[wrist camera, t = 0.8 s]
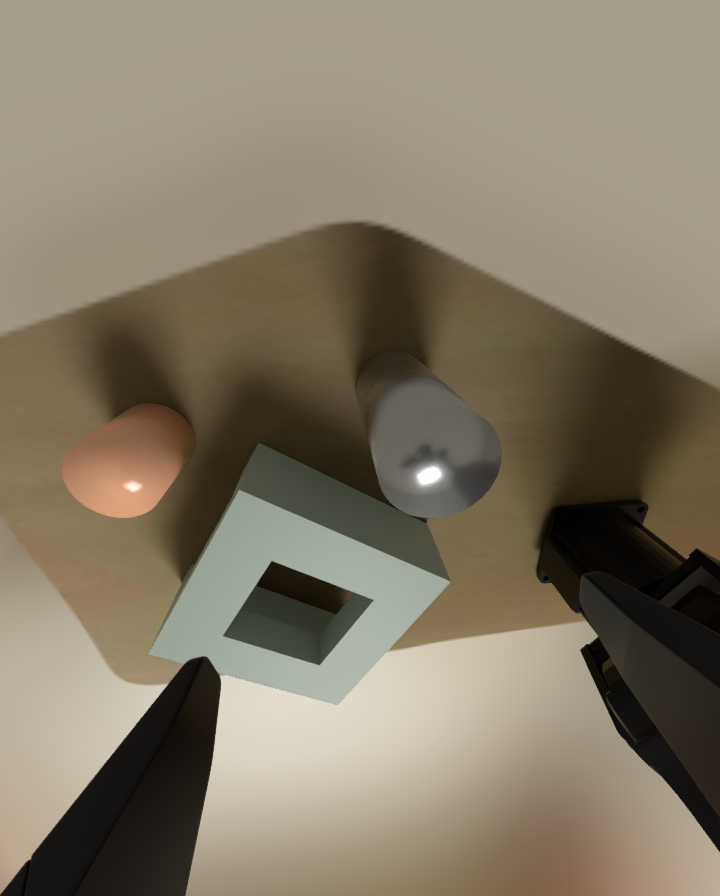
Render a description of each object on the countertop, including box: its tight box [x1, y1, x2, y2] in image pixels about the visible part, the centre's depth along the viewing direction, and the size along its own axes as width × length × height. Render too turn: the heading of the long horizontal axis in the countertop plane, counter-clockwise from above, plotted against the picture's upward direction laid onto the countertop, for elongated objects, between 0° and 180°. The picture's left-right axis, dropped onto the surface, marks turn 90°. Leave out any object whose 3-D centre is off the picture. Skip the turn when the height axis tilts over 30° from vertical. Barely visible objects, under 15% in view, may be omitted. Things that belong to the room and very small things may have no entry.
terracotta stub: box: [62, 403, 196, 518], centre depth 17 cm, size 4×4×4 cm
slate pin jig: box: [148, 443, 451, 705], centre depth 22 cm, size 12×12×5 cm
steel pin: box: [356, 351, 502, 518], centre depth 15 cm, size 4×4×9 cm
